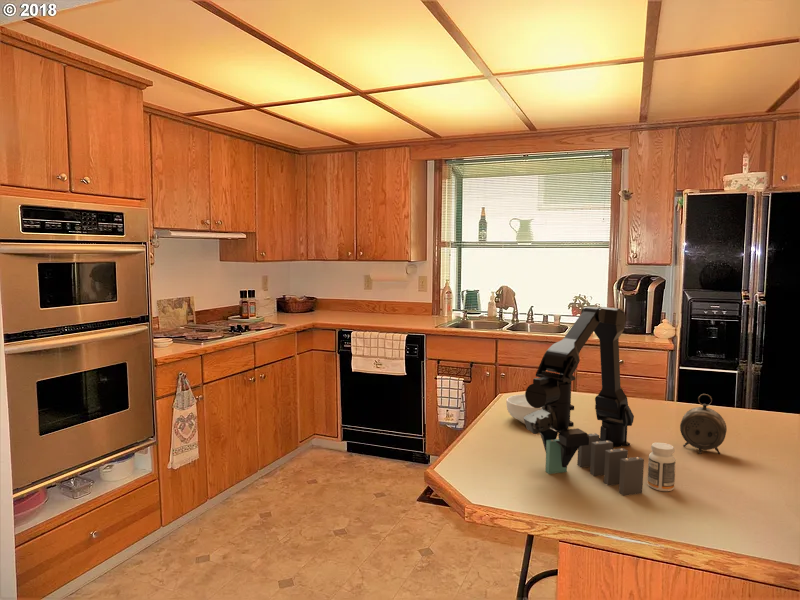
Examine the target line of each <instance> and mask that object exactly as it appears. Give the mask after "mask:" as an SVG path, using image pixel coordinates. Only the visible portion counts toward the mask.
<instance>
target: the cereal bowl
mask: <svg viewBox="0 0 800 600" xmlns="http://www.w3.org/2000/svg"><path fill="white" fill-rule="evenodd" d="M505 404H506V409H507V412H508V413H509V415H510V416H511V417H512V418H514V419H516V420H517V421H519V422H520V423H522V424H524V425H526V424H525V421H524V416H526V415H528V414H531V413H532V412H535V411H538V410H541V409H542V407H541V408H534V407H532V406H531V405H529V403H528V402H527V400H526V397H525V393H524V394H514V395H510V396H509V397H507V398H506V403H505Z"/></svg>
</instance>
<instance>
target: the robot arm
mask: <svg viewBox="0 0 800 600" xmlns="http://www.w3.org/2000/svg"><path fill="white" fill-rule="evenodd" d="M626 321H627V316H626V314H625V311H623V310H622V309H621V308H619V307H618V308H617V307H607V306H589V305H588V306H585V307H582V309H581V312H580V315H579V316H578V317H577V319H576V321H575V322H574V323H573V325H572V326H571V328H570V329H569V330H568V332H567V333H566V335H565V336H564V337H563V338H562V339H561V340H559V341H557V342H555V343H553V344H552V345H550V346H549V347H548V349H547V350H545V352H544V354H543V357H542V359H541V360H540V363H539V365H538V368H537V370H536V373H535V378H533V379H532V383H531V384H529V385H528V386H527V387H526V390H525V393H524V394H525V397H526V400H527V402H528V403H529V405H531V406H532V407H534V408H541V407H542V409H541V410H538V411H535V412H532V413H531V414H528V415H526V416H524V421H525V424H524V425H525V427H526V430H527V431H530V432H531V433H532V434H534V435H538V434H539V435H540V437H541V441H542V444H543V447H544V452H545V453H546V440H554V439H559V441H556V443H557V444H558V445H559V446H560V448H561V462H562V467H563V468H564V467H567V468H568V466H569V464H570V462H571V460H572V459H573V457H574V456H575V453H577V452H578V448H579V447H580V446H584V445H589V444H590V436H589V435H588V434H589V433H587V432H586V431H584V430H582V429H580V428H571V427H574V422H573V421H571V411H575V405H573V404H572V403H571V402H572V401H571V400H572V382H573V381H575V380H576V377H575V376H574V375H573V374H574V373H575V371H576V370H577V368H578V366H579V364H580V361H581V359H580V352H581V351H582V349H583V347H584V346H585V345H586V344H587V342H588V340H589V339H590V337H591V336H592V334H593V333H594V334H595V335H596V337H597V338H598V340H599V353H600V354H599V355H600V357H599V358H600V372H601V373H600V375H601V378H600V379H601V390H599V393H598V394H597V395H596V396H595V398H594V401H595V405H594V409H595V415H596V419H597V421H601V426H600V432H599V433H600V434H599V441H611V442H613V448H615V447H626V446H631V442H629V441H628V427H632V425H633V423H634V419H635V415H634V413H633V411H632V410H631V408H630V406H629V402H628V396H627V394H626V393H625V392H624V391H623V389H622V388H621V371H620V370H621V366H620V343H619V342H620V341H619V338H620V336H621V335H622V334H623V332H624V330H625V326H626V325H625V324H626ZM557 437H558V438H557Z"/></svg>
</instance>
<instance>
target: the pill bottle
mask: <svg viewBox="0 0 800 600" xmlns="http://www.w3.org/2000/svg"><path fill="white" fill-rule="evenodd" d="M650 449H651V452H650V453H649V455H648V465H647V466H648V469H647V485H648V486H649V487H650V488H652V489H653V490H656V491H658V492H671V491H673V490H674V489H675V481H676V478H675V477H676V460H677V459H676V457H675V456H674V455H673V454H674V450H675V449H674V446H673V445H672V444H669V443H666V442H658V441H657V442H653V443H651V447H650Z"/></svg>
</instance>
